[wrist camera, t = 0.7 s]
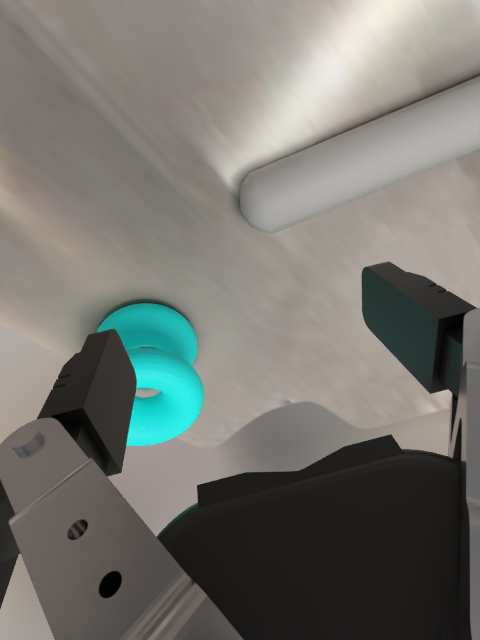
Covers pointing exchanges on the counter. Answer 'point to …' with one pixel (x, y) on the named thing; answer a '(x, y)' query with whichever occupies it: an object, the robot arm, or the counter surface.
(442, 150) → the tube
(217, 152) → the counter surface
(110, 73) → the counter surface
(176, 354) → the donuts
